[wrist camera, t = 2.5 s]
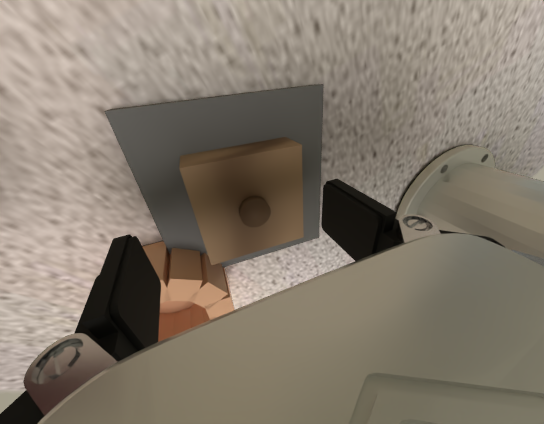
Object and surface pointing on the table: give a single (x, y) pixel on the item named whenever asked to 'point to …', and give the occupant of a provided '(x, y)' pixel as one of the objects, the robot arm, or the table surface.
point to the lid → (246, 196)
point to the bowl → (188, 288)
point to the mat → (215, 135)
